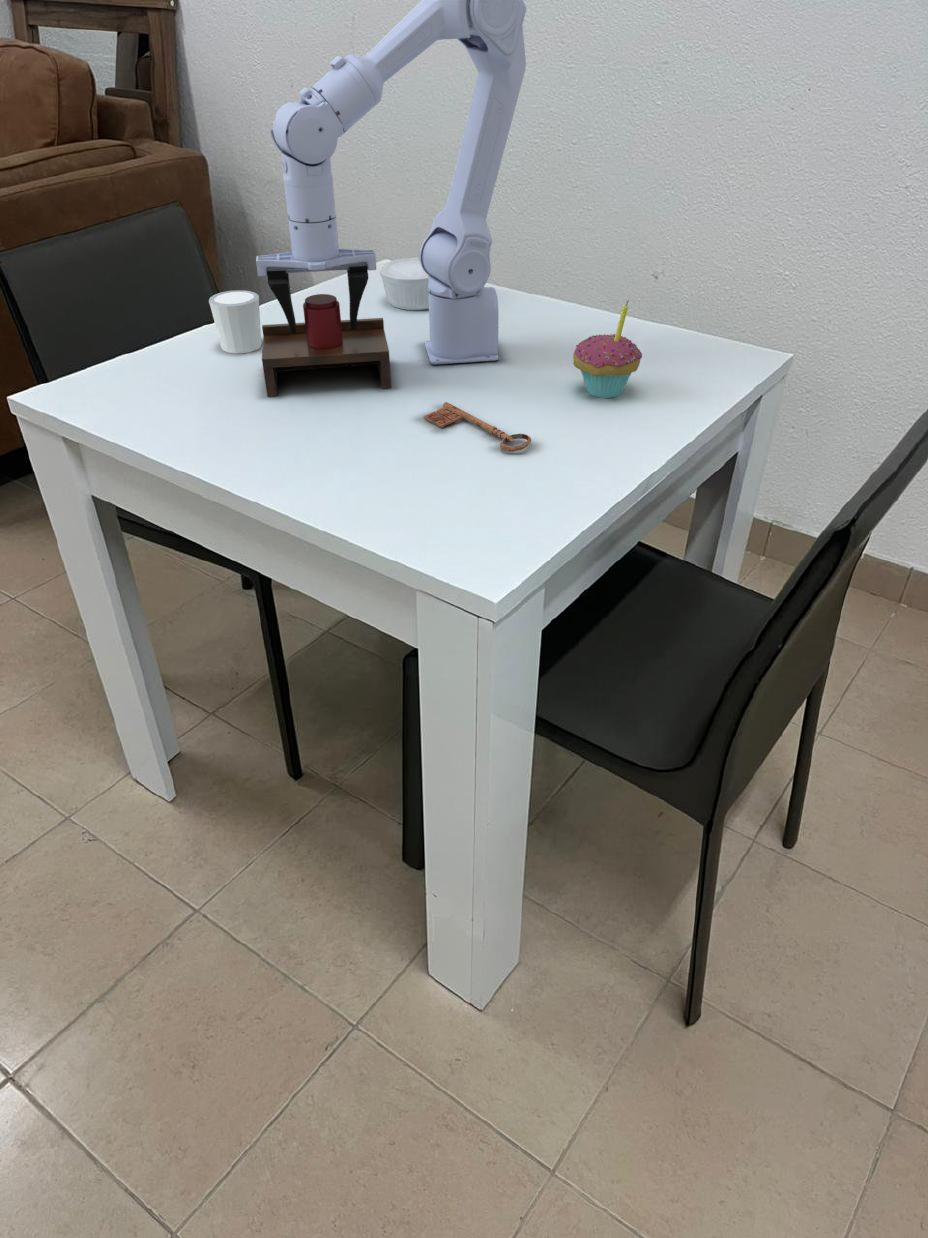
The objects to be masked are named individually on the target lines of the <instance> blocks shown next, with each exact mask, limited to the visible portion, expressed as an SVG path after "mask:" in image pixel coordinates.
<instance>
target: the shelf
mask: <svg viewBox="0 0 928 1238" xmlns="http://www.w3.org/2000/svg"><path fill="white" fill-rule="evenodd" d="M384 322H385V321H384V318H383V317H374V318H357V326H356V327H357V329H355V330H351V325H350V319H341V326H342V337H343V342H342V344H340V345H339V346H336V347H333V348H326V349H319V348H313V347H311V346H309V345H308V344H307V336H306V328H305V322H296V333H291V332H290V328H289V324H288V323H273V324H262V325H261V330H262V337H263V338H262V352H261V363H262V369H263V371H262V372H263V377H264V382H265V390H266V397H268V398H269V397H277V395H278V393H277V392H278V372H287V371H288V372H289V371H303V370H304V371H305V370H317V369H318V370H319V369H334V368H335V369H336V368H349V367H363V366H365V367H366V366H377V369H378V374H379V375H378V376H379V379H380V385H381V389H383V390H385V389H392V376H391V375H392V374H391V361H390V359H391V357H390V350H389V349H390V348H389V345H388V340H387V336H386V332H385V323H384Z"/></svg>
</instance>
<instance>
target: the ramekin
mask: <svg viewBox="0 0 928 1238" xmlns="http://www.w3.org/2000/svg"><path fill="white" fill-rule="evenodd" d="M379 276H380V278H381V280H382V286H383V288H384V293H385V297H386V300H387V301H388V303H389V304H390V305H391V306H392V307H394V308H396V309H400V310H406V311H408V310H409V311H423V310H429V297H428V283H429V278H428V274H427V273H426V272H425V271H424V270H423V268H422V267H421V264H420V260H419V256H417V257H405V258H398V259H395V260H391V261H389V262H386V263H384V264H383V265H382V266H381V267H380V269H379Z"/></svg>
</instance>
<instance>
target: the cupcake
mask: <svg viewBox="0 0 928 1238" xmlns="http://www.w3.org/2000/svg"><path fill="white" fill-rule="evenodd" d="M629 302H630V299H627V300H626V303H625V304H624V305H622V308H621V312H620V317H619V319H618V323H617V328H616V331H615V333H613V334H611V333H610V334H606V333H604V334H596V335H591V336H588V337H587V338H585V339H584V340H582V341H580V342H579V343H578V344H576V345H575V349H574V351H573V355H572V356H573V357H572V358H573V359H572V360H573V362H572V365H573V367H575V368H576V369H577V370H579V371H580V373H581V376H582V378H583V383H584V385H585V386H584V387H585V391H586V392H587V394H589V395H590V396H593V397H596V398H601V399H610V398H615V397H619V396H621V395H622V394H623V393H624V390H625V388H626V385H627V383H628V381H629V380H630V379H629V378H630V377H631V375H632V373H635V372H636V371H638V369H639V367H640V363H641V359H642V358H643V355H644V354H643V353H642V352H641V350H640V348H639V347H638V346H637V344H636V343H634V342H633V340H631V339H629V338H627V337H625V336H622V334H623V329H624V325H625V322H626V319H627V318H626V317H627V314H628V308H629V306H628V304H629Z"/></svg>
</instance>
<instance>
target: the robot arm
mask: <svg viewBox="0 0 928 1238" xmlns="http://www.w3.org/2000/svg"><path fill="white" fill-rule="evenodd" d="M526 13H527V6H526V3H525V1H524V0H420V1H419V2H418V3H417V4H416V5H415V6H414V7H413V8H412V9H411V10H410V11H409V12H408V13H407V14H405V15H404V17H402V19H400V20H399V21H398V22H397V24H396V25H395V26H393V27H392V28H391V29H390V30H389V31H388V32H387V34H385V35H384V37H383V38H381V39H380V40H379V42H377V44H375V45H374V46H373V47H372V48H370V50H369V51H368V52H367V53H366V54H365V55H364V56H361V55H357V54H354V53H353V54H352V53H350V54H347V55H346V56H345V57H343V56H339V55H337V56H335V57H334V59H332V60H331V61H330V62H329V65H330V66H331V69H330V70H329V71H327V73H326V74H325V75H323V76H322V77H321V78H319V80H317V82H315V83H314V85H312V86H311V87H310V88H308V87H303V88H302V89H301V90H299V92H298V94H299V96H300V101H299V100H295V101H289V102H287V103H285V104H283V105H282V106H281V107H280V108H278V110H277V111H276V113H275V116H274V117H275V119H273V124H272V128H271V129H270V130H269V131H270V136H271V140H272V142H273V143H274V145H275V147H276V148H277V149H278V150H279V151H280V152H281V153H280V155H281V164H282V165H281V166H282V174H283V177H282V178H283V187H284V197H285V204H286V212H287V221H288V230H289V239H290V246H291V251H285V252H284V251H283V252H279V253H272V254H265V255H256V256H255V263H256V264H255V265H256V270H257V271H256V272H257V277H267V284H268V287H269V289H270V291H271V292H272V294H273V295H274V297H275V298H276V300H277V301H278V303H279V306H280V307H281V309H282V311H283V313H284V316H285V318H286V321H287V324H289V328H290V332H291V333H296V323H297V322H296V317H295V311H294V307H293V302H292V294H291V286H290V284H291V283H290V275H289V274H295V273H296V274H297V273H313V272H335V271H346V272H347V273H346V274H347V284H348V294H349V295H348V296H349V298H348V299H349V320H350V325H351V330H355V329H357V327H356V326H357V319H358V314H359V308H360V305H361V301H362V297H363V295H364V293H365V292H364V291H365V289H366V286H367V284H368V282H369V271H377V256H376V251H375V249H349V248H348V249H347V248H340V247H339V235H338V224H337V212H336V203H335V202H336V201H335V190H334V180H333V173H332V162H331V161H332V160H331V158H332V157H333V155H334V153H335V151H336V149H337V145H338V139H339V138H341V137H342V136H343V135H344V134H345V133H346V132H348V131H349V130H350V129H351V128H352V127H353V126H354V125H356V124H357V123H358V122H359V121H360V120H361V119H362V118H364V116H366V115H367V114H368V113H369V112H371V110H373V109H374V108H375V107H376V106H377V105H379V103H380V102H381V101H382V98H383V91H384V84H385V83H386V82H387V81H388V80H389V79H390V78H392V77H393V76H394V75H395V74H397V73H398V72H400V71H401V70H402V69H404V68H405V67H406V66H407V65H409V63H410V62H412V61H413V60H415V59H416V58H417V57H418V56H420V55H421V54H422V53H423V52H425V51H426V50H427V49H429V47H431V46H432V45H433V44H435V43H436V42H437V41H441V40H458V41H459V42H460V43H461V44H462V45H463V46H464V48H465V49H466V51H467V53H468V55H469V57H470V59H471V61H472V62H473V64H474V66H475V68H476V71H477V76H476V80H475V85H474V88H473V93H472V96H471V101H470V105H469V109H468V114H467V116H466V117H467V118H466V122H465V126H464V130H463V134H462V138H461V142H460V146H459V151H458V155H457V159H456V163H455V167H454V171H453V175H452V179H451V183H450V188H449V191H448V196H447V201H446V204H445V206H444V208H443V209H442V210H441V211H439V213H438V214H437V215H436V216H435V217H434V218H433V222H432V225H431V228H430V230H429V233H428V234H427V235H426V236H425V238H424V240H423V241H422V243H421V245H420V247H419V255H418V257H419V260H420V264H421V267H422V268H423V270H424V271H425V272H426V273H427V274H428V278H429V283H428V297H429V309H428V319H429V320H428V322H429V323H428V325H429V340H425V341H424V347H425V351H426V355H427V357H428V360H429V363H430V364H431V365H447V364H449V365H450V364H460V363H461V364H464V363H478V362H492V361H493V362H494V361H498V360H499V359H500V355H499V300H498V294H497V290H496V288H495V287H492V286H485V285H486V284H487V282H488V280H489V278H490V275H491V270H492V269H491V257H490V255H491V253H490V252H491V246H492V244H493V239H492V235H491V233H490V229H489V226H488V222H487V217H488V214H489V213H488V212H489V209H490V206H491V202H492V198H493V194H494V190H495V186H496V183H497V179H498V175H499V171H500V168H501V165H502V160H503V155H504V152H505V148H506V145H507V141H508V138H509V133H510V130H511V127H512V122H513V118H514V114H515V111H516V107H517V102H518V99H519V97H520V96H519V95H520V91H521V87H522V84H523V80H524V76H525V72H526V67H527V61H526V60H527V58H526V48H525V37H524V27H523V25H524V20H525V17H526Z"/></svg>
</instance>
